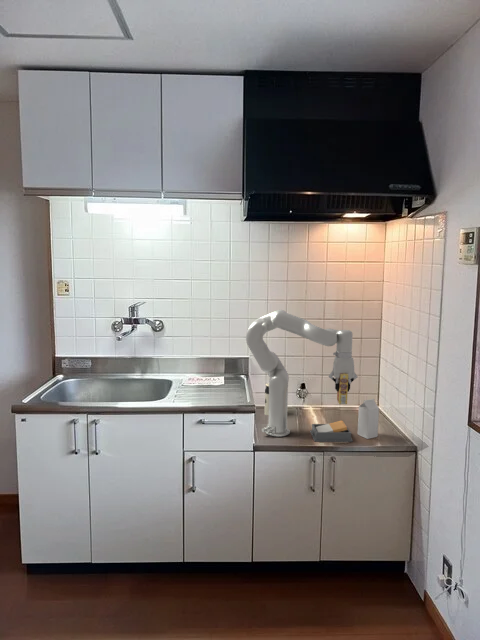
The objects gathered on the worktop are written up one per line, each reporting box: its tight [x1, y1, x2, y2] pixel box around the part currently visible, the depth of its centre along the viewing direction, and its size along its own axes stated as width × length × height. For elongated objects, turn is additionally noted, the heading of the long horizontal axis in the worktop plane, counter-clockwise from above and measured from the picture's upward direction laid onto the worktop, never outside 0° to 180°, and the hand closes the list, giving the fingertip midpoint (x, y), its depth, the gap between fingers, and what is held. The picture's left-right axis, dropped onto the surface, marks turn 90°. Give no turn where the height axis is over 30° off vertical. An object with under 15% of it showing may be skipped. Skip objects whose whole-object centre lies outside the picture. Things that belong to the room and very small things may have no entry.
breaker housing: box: [309, 423, 353, 443], centre depth 243 cm, size 19×13×4 cm
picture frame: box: [316, 420, 348, 432], centre depth 243 cm, size 14×10×2 cm
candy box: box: [336, 373, 348, 405], centre depth 241 cm, size 9×4×15 cm, turn 176°
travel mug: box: [263, 382, 269, 417], centre depth 276 cm, size 8×8×18 cm
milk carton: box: [357, 398, 380, 440], centre depth 244 cm, size 7×7×19 cm
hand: (342, 390), depth 241 cm, fingers closed on candy box, 4 cm apart
